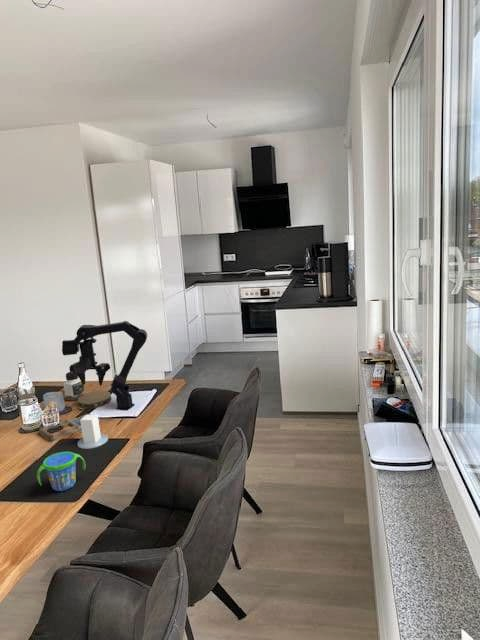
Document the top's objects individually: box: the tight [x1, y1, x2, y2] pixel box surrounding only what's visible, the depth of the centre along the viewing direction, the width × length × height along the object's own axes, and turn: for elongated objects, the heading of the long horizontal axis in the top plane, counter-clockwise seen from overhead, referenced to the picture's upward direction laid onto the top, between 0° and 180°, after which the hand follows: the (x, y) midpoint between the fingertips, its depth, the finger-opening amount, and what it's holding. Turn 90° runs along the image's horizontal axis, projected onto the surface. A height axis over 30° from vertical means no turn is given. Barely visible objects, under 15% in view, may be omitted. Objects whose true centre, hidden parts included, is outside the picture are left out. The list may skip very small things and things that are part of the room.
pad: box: [76, 433, 109, 450], centre depth 197 cm, size 12×12×1 cm
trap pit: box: [67, 413, 101, 431], centre depth 216 cm, size 10×10×2 cm
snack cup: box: [36, 451, 87, 492], centre depth 164 cm, size 16×10×10 cm
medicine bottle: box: [62, 371, 86, 398], centre depth 253 cm, size 7×7×12 cm
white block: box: [80, 414, 102, 443], centre depth 196 cm, size 5×5×10 cm
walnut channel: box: [38, 419, 80, 443], centre depth 208 cm, size 12×11×2 cm
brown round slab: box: [77, 390, 112, 409], centre depth 240 cm, size 16×16×3 cm
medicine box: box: [42, 391, 66, 412], centre depth 233 cm, size 8×4×9 cm, turn 84°
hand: (92, 385), depth 226 cm, fingers open, 9 cm apart
